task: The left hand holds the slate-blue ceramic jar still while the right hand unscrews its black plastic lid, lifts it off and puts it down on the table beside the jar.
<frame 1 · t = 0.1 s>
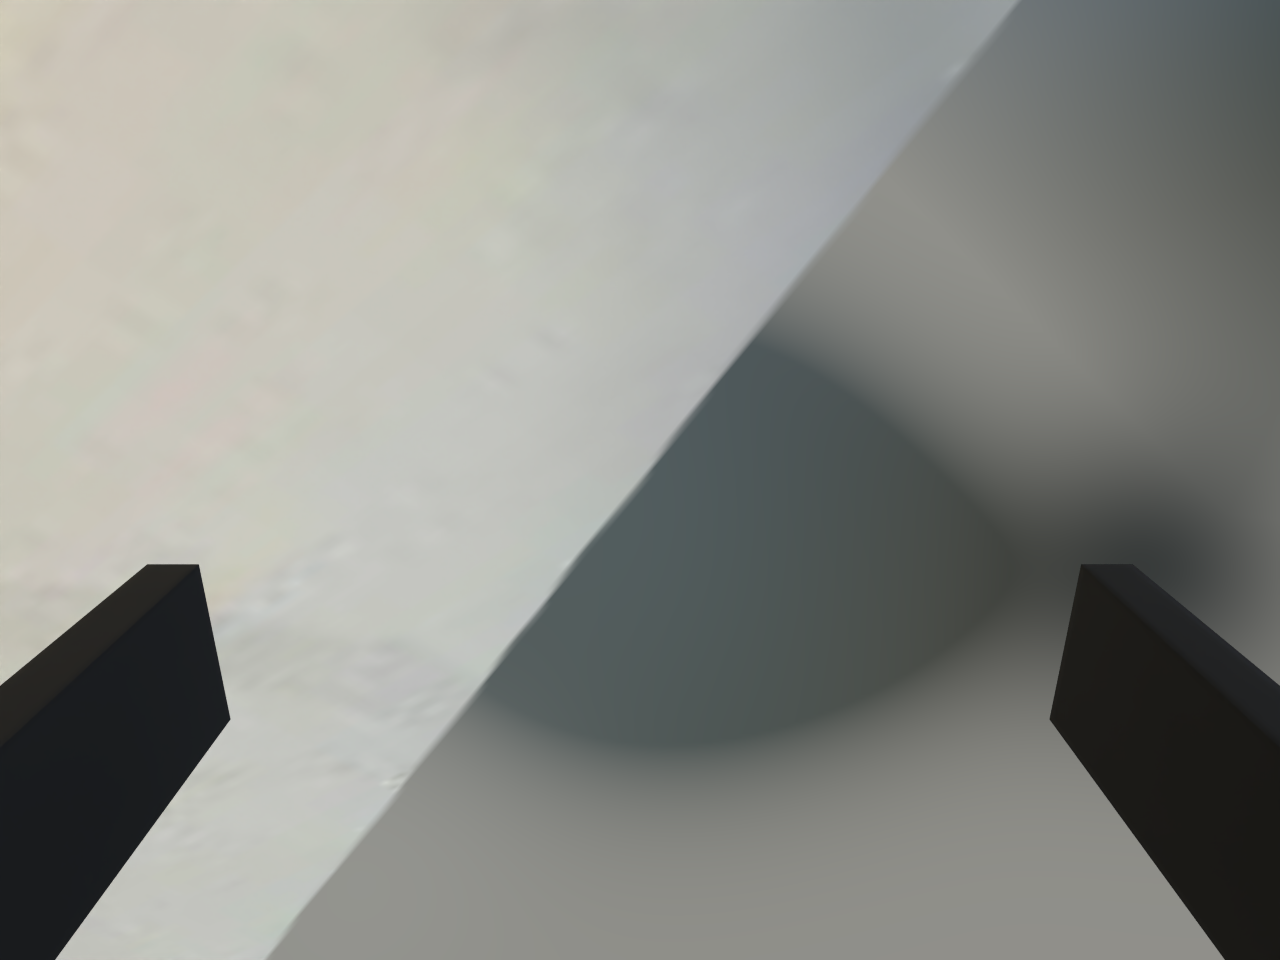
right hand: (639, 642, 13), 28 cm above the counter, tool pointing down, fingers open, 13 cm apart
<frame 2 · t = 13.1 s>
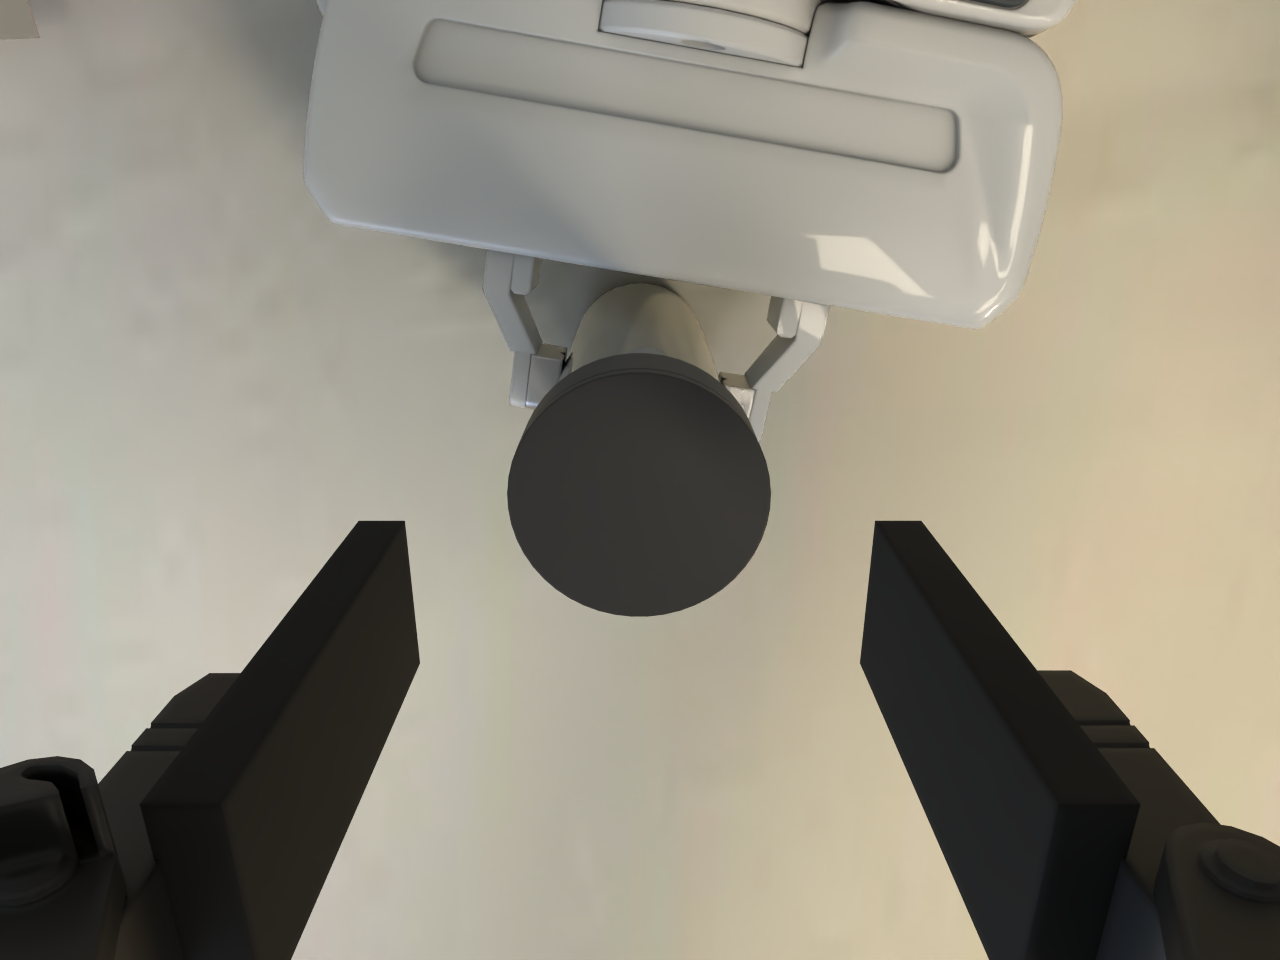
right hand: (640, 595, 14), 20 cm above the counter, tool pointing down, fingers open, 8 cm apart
left hand: (636, 420, 27), fingers closed on jar, 5 cm apart
jar: (639, 348, 33), on the counter, touching left hand
lid: (639, 495, 19), point 15 cm above the counter, screwed on, not yet turned
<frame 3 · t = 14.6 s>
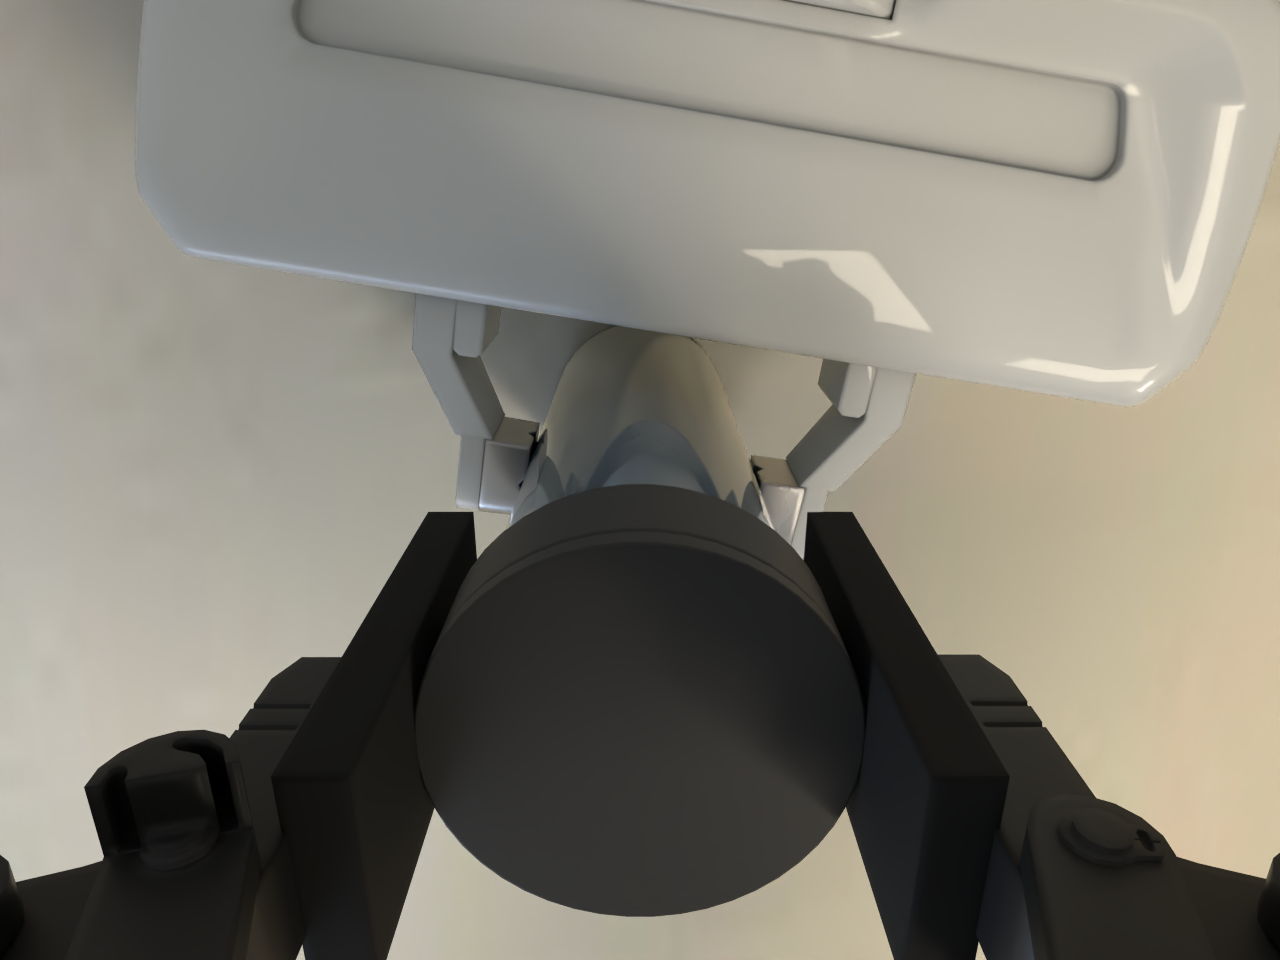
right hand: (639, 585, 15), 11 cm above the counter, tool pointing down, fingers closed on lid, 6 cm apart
left hand: (635, 524, 19), fingers closed on jar, 5 cm apart
jar: (640, 406, 25), on the counter, touching left hand
lid: (639, 730, 11), point 15 cm above the counter, screwed on, not yet turned, touching right hand
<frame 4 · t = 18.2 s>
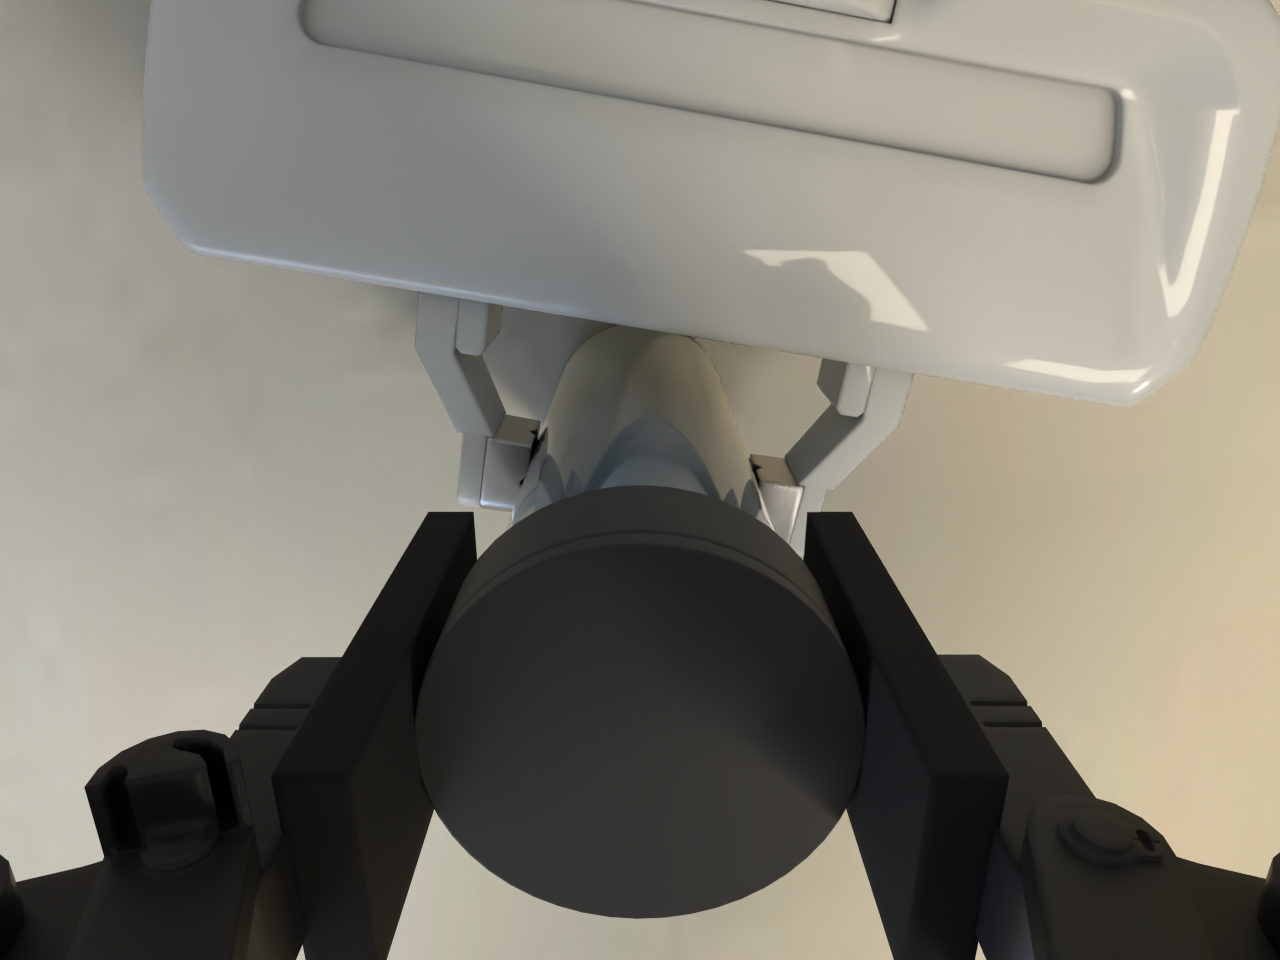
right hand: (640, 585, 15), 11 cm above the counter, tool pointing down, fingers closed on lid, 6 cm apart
left hand: (635, 522, 19), fingers closed on jar, 5 cm apart
jar: (640, 405, 25), on the counter, touching left hand
lid: (639, 732, 11), point 15 cm above the counter, turned 123° so far, risen 0.2 cm, still on its thread, touching right hand
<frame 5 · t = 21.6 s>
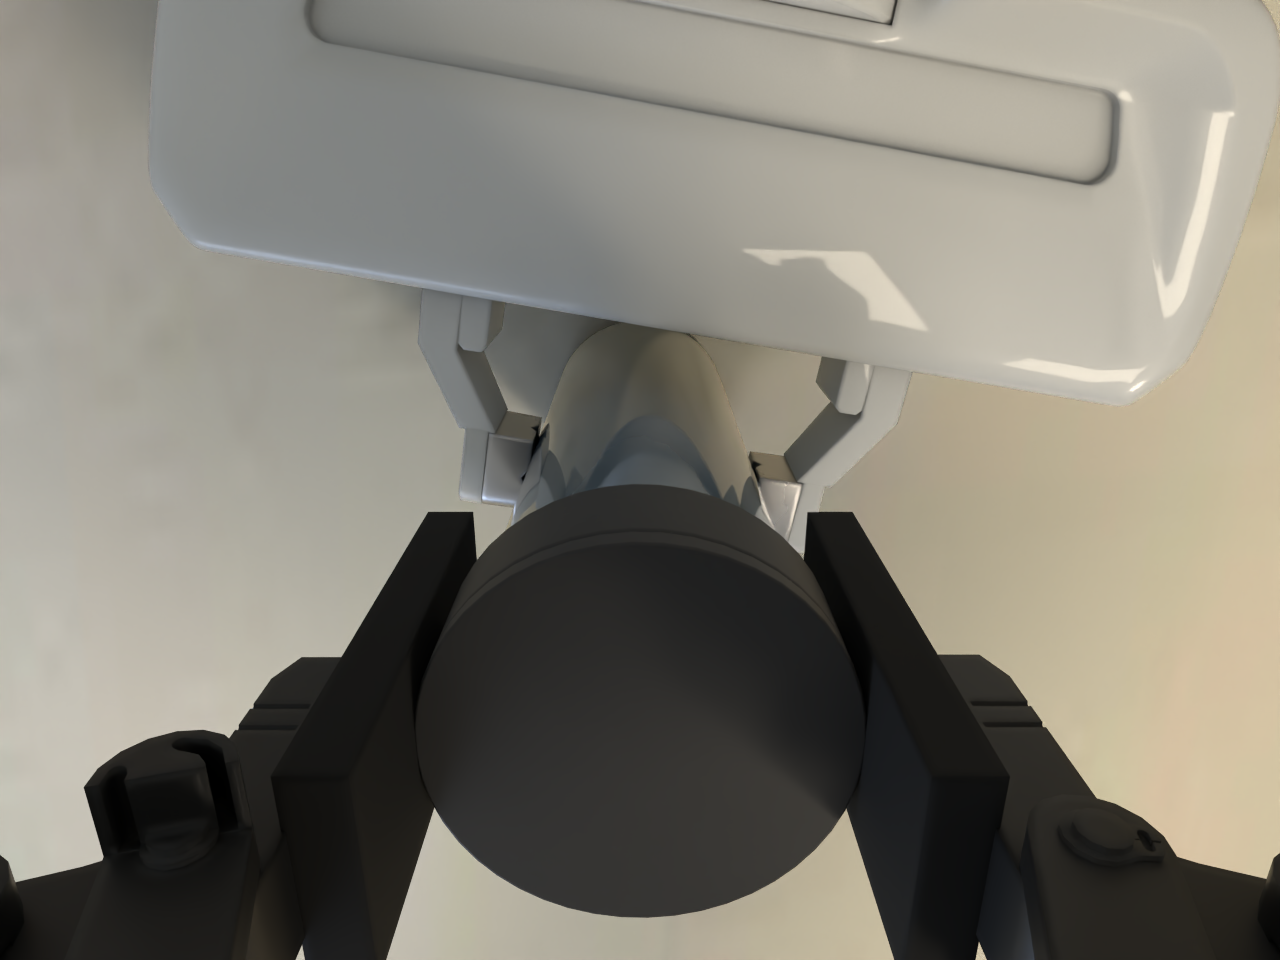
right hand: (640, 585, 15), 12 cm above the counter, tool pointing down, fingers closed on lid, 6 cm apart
left hand: (635, 518, 20), fingers closed on jar, 5 cm apart
jar: (640, 402, 26), on the counter, touching left hand
lid: (640, 731, 11), point 16 cm above the counter, turned 246° so far, risen 0.3 cm, still on its thread, touching right hand
when the right hand's fingers open (0 cm above the counter, at t = 33.4 s): lid drops 3 cm, point 2 cm above the counter.
when the left hand's fingers open (7 cm above the counter, at t = 34.1 s): jar stays where it is, on the counter.
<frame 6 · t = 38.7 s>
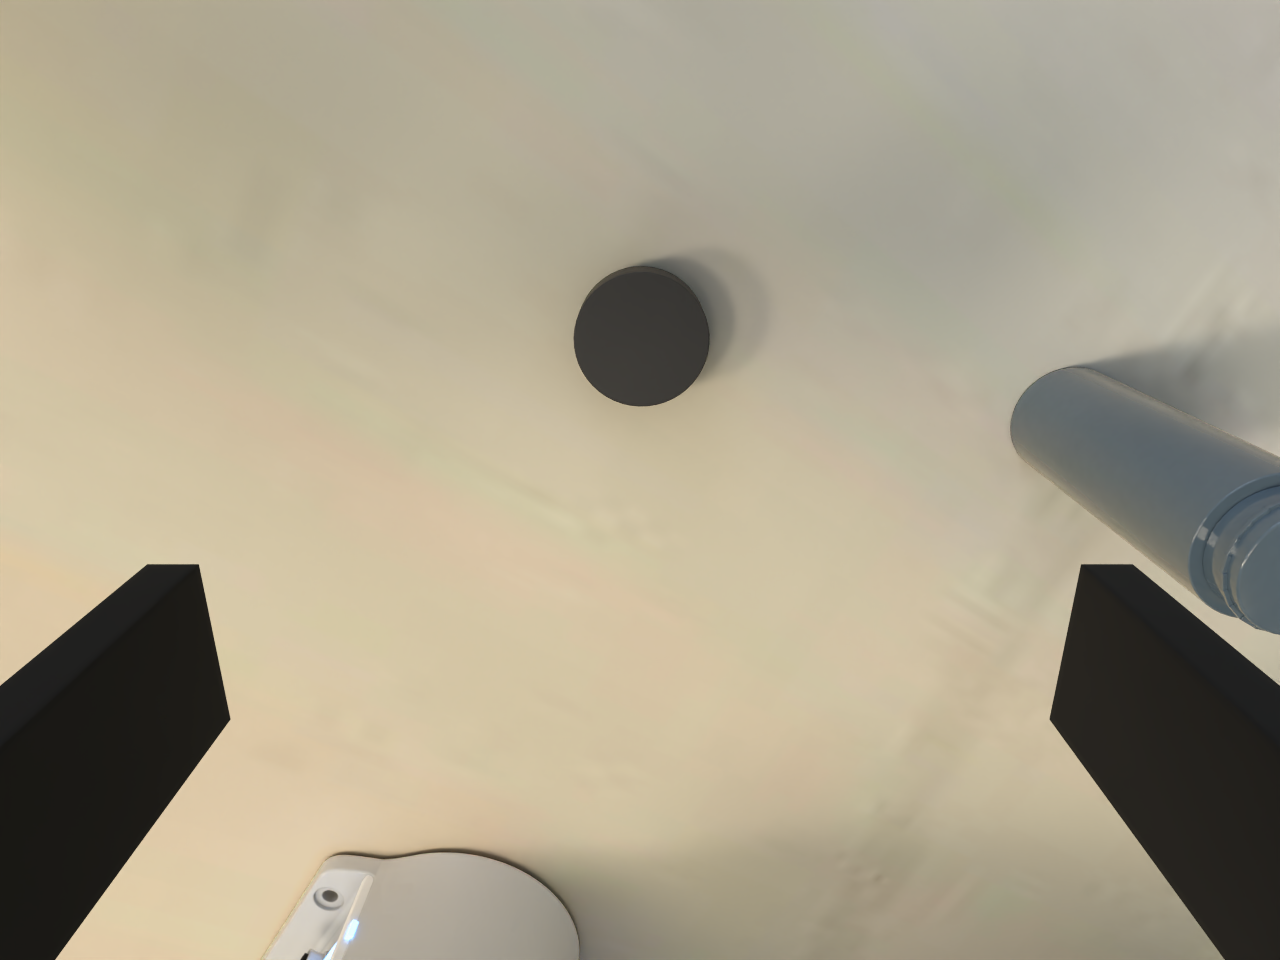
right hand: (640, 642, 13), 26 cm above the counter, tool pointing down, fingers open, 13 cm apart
jar: (1065, 420, 39), on the counter
lid: (641, 339, 36), point 2 cm above the counter, off its thread
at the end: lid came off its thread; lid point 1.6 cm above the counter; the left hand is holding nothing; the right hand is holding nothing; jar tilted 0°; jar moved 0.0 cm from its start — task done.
